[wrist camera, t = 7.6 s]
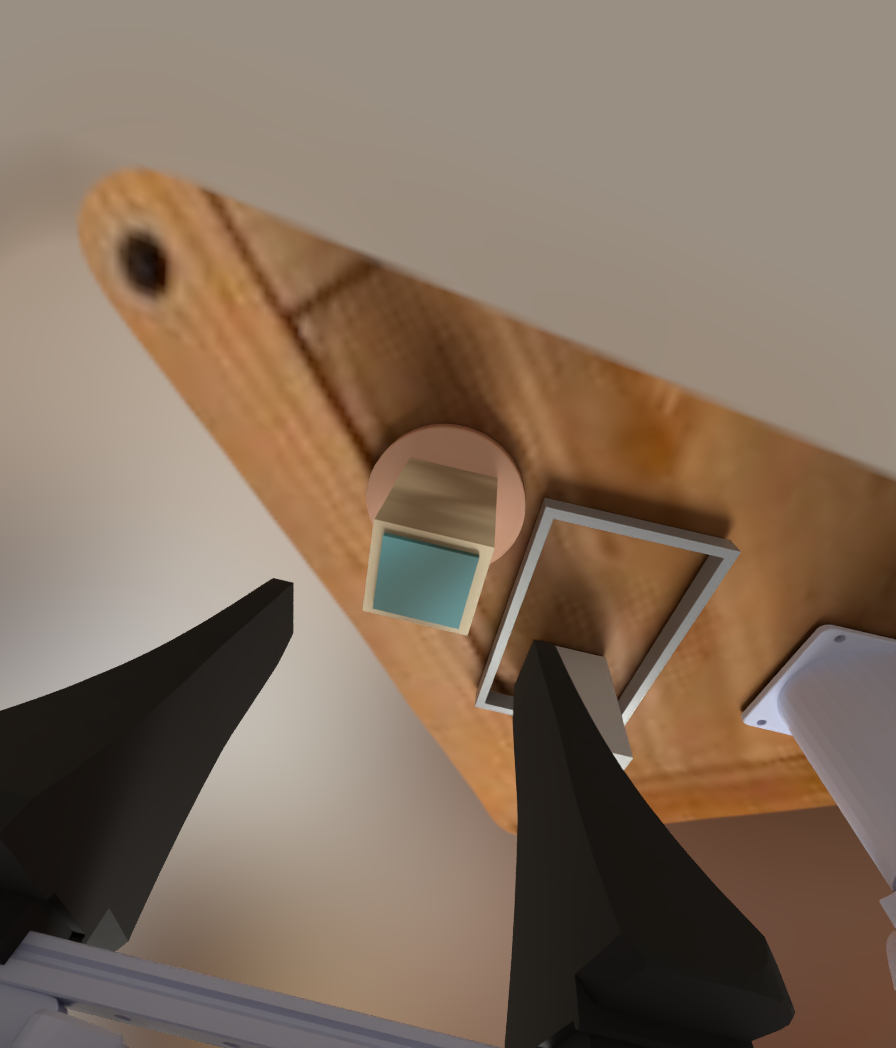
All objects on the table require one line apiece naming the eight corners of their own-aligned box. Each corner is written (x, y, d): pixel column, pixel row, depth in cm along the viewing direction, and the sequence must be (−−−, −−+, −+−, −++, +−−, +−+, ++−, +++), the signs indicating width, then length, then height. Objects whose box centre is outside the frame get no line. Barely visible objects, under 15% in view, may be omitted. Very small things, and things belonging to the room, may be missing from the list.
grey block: (605, 657, 24) (633, 758, 19) (581, 700, 26) (600, 802, 21) (538, 641, 24) (547, 737, 19) (519, 686, 26) (523, 783, 21)
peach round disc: (544, 444, 18) (546, 452, 18) (502, 576, 22) (501, 587, 21) (381, 406, 18) (374, 412, 18) (365, 544, 22) (360, 554, 21)
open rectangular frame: (730, 540, 20) (741, 551, 19) (611, 725, 27) (614, 739, 26) (544, 497, 20) (546, 507, 19) (476, 693, 27) (475, 706, 26)
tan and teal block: (497, 478, 18) (494, 551, 13) (477, 551, 20) (466, 639, 15) (410, 457, 18) (372, 522, 13) (397, 532, 20) (361, 614, 15)
